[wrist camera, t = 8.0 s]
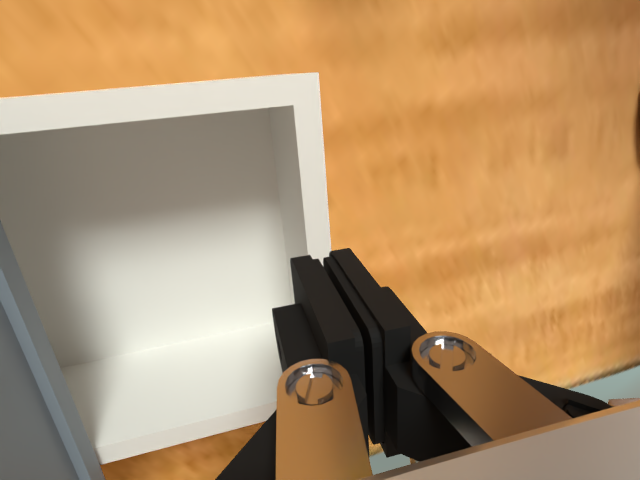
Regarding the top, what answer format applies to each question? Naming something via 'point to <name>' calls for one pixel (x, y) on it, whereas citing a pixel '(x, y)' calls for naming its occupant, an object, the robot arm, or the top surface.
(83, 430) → the mailer lid
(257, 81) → the white open box
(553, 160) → the top surface
